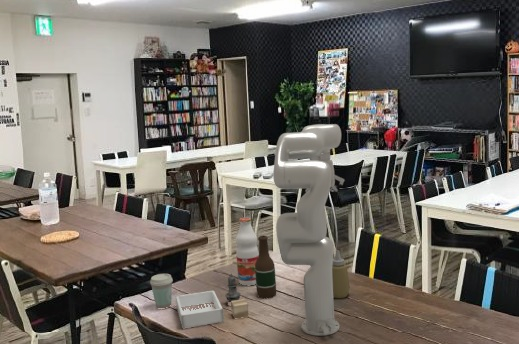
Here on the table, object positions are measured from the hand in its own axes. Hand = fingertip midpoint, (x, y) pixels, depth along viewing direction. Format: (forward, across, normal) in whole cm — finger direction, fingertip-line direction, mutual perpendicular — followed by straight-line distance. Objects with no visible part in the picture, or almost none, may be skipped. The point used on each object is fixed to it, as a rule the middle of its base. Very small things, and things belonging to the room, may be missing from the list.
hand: (322, 201), depth 203 cm
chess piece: (+37, -35, -12) cm, 52 cm away
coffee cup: (+37, -62, -16) cm, 74 cm away
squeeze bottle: (+37, +5, -1) cm, 37 cm away
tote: (+37, -44, -23) cm, 62 cm away
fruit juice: (+37, -34, +11) cm, 51 cm away
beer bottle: (+37, -24, -2) cm, 44 cm away
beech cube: (+37, -29, -22) cm, 52 cm away
